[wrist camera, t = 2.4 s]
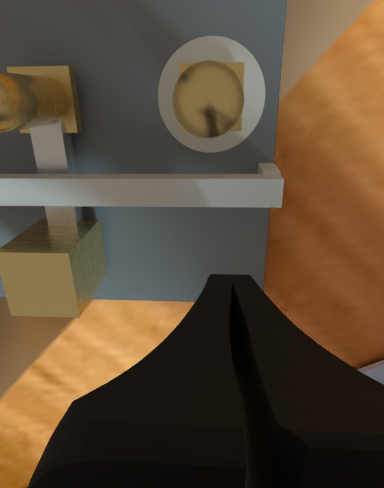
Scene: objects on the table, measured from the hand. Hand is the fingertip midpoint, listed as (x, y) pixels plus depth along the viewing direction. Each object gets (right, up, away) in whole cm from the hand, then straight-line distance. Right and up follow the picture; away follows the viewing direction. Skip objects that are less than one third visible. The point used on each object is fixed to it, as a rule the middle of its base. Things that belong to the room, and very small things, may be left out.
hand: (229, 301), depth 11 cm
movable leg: (-6, +4, +3) cm, 8 cm away
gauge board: (-8, +6, +4) cm, 11 cm away
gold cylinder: (0, +7, +1) cm, 7 cm away
